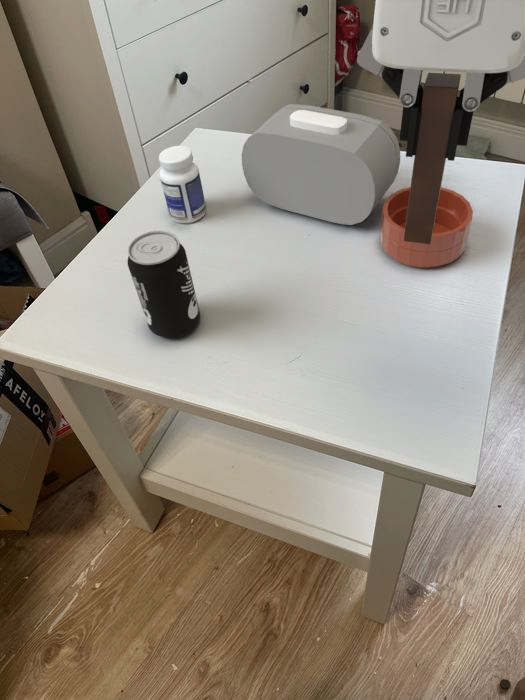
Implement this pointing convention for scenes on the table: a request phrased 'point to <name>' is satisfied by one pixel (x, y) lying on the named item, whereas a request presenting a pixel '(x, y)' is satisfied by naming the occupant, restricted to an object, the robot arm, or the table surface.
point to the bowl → (445, 236)
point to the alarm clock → (321, 162)
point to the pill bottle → (181, 184)
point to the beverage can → (163, 283)
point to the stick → (430, 155)
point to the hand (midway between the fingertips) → (432, 148)
